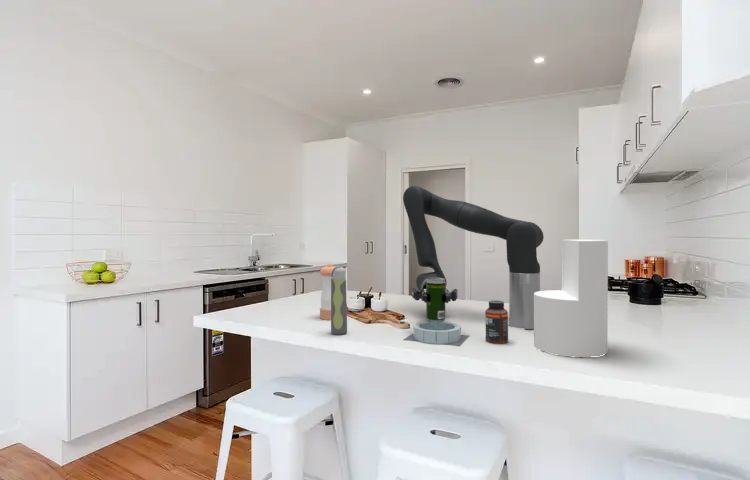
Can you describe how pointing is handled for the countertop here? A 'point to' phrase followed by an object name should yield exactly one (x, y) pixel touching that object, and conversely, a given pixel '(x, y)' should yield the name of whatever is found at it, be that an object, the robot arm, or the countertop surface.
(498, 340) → the supplement bottle
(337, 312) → the patterned grey bottle
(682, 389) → the countertop surface
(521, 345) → the countertop surface
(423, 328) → the bowl
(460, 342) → the mat
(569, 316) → the white stepped cylinder
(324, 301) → the salt shaker
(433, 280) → the beer can
